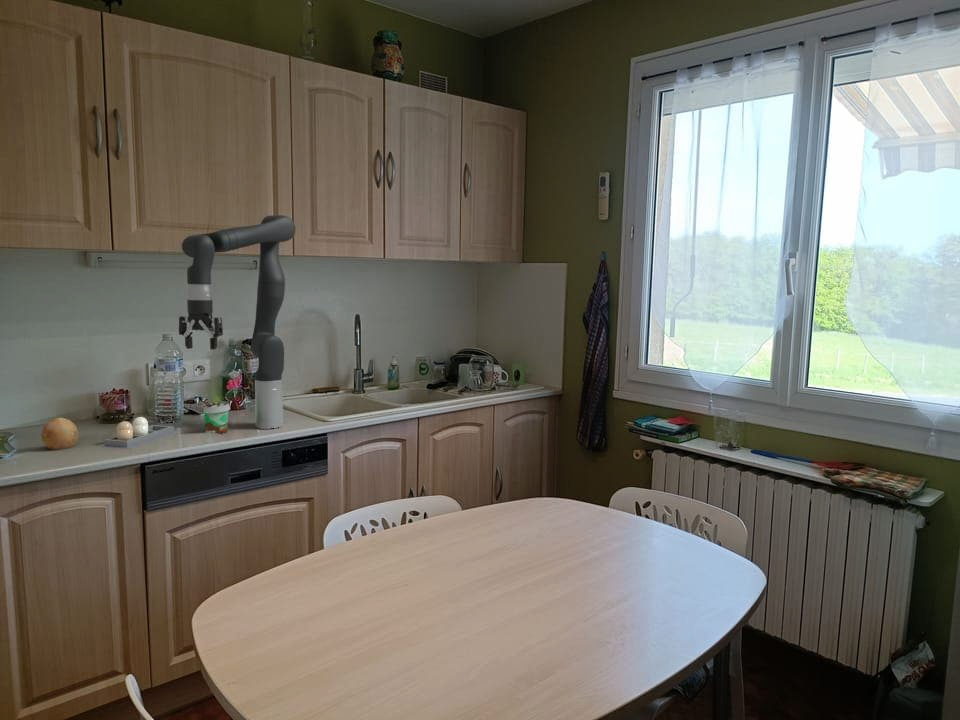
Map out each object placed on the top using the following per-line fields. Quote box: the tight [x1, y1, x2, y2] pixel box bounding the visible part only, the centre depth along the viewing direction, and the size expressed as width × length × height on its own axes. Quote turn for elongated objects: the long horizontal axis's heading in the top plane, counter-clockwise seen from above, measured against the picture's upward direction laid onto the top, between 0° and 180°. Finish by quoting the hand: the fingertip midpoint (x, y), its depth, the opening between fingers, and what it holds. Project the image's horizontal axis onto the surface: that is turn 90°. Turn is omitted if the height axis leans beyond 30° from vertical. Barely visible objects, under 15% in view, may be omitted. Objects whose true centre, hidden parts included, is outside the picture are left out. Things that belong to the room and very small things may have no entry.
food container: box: [203, 400, 231, 435], centre depth 229 cm, size 12×6×10 cm, turn 179°
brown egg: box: [116, 420, 133, 441], centre depth 208 cm, size 4×4×7 cm
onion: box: [40, 417, 79, 451], centre depth 202 cm, size 10×10×10 cm
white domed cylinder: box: [132, 416, 149, 436], centre depth 215 cm, size 4×4×7 cm
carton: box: [97, 424, 182, 450], centre depth 215 cm, size 24×12×3 cm, turn 168°
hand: (201, 349), depth 215 cm, fingers open, 8 cm apart
